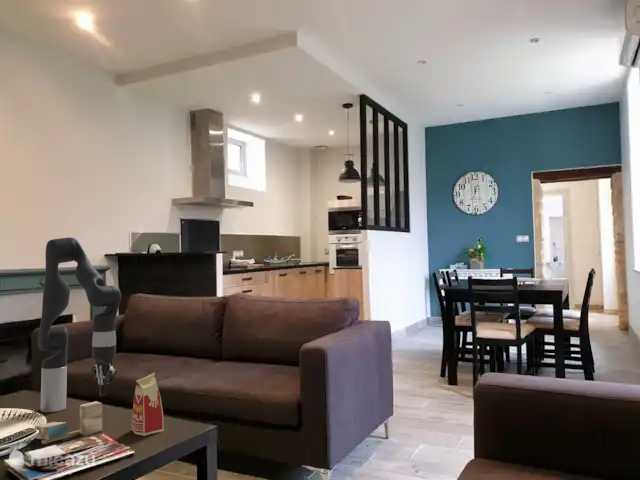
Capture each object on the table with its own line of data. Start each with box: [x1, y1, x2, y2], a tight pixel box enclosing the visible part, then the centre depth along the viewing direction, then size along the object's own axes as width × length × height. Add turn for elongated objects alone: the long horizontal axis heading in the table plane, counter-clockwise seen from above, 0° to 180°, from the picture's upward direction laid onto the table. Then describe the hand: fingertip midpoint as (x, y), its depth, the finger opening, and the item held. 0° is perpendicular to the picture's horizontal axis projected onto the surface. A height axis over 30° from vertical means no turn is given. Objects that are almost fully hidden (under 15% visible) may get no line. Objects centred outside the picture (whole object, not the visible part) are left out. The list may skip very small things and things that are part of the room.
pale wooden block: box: [78, 400, 103, 437], centre depth 176 cm, size 4×6×10 cm, turn 143°
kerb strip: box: [40, 429, 80, 445], centre depth 173 cm, size 2×19×1 cm, turn 143°
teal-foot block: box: [34, 421, 69, 440], centre depth 170 cm, size 4×6×10 cm
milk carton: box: [131, 372, 165, 437], centre depth 178 cm, size 9×9×20 cm
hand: (103, 395), depth 171 cm, fingers closed
